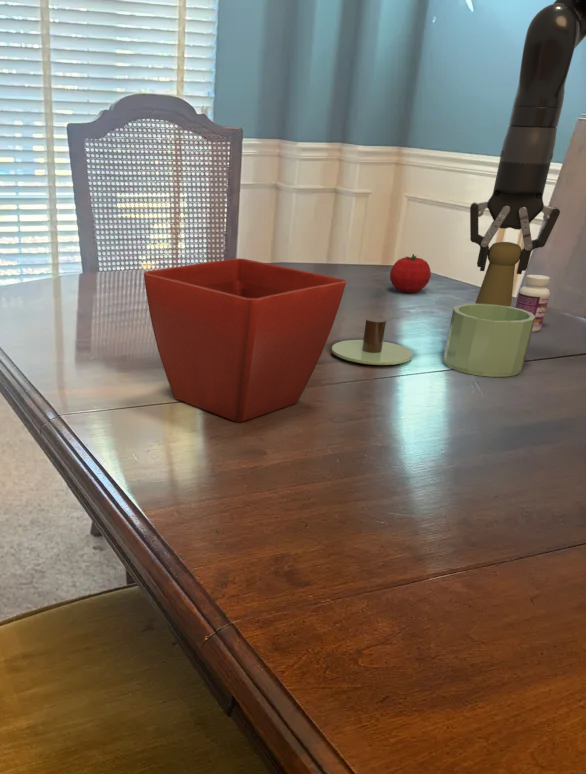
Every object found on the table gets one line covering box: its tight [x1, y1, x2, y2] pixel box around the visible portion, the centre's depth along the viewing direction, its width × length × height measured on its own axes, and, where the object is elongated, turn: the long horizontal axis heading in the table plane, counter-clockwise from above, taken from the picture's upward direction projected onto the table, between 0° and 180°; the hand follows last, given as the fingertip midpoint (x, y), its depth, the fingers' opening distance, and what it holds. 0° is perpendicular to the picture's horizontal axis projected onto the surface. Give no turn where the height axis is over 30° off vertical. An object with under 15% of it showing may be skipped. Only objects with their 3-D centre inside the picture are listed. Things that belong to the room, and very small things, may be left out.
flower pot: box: [143, 258, 347, 423], centre depth 102 cm, size 19×19×17 cm
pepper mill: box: [474, 241, 522, 307], centre depth 130 cm, size 6×6×11 cm
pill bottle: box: [514, 274, 551, 333], centre depth 144 cm, size 5×5×10 cm
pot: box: [443, 303, 535, 378], centre depth 122 cm, size 12×12×8 cm
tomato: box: [389, 253, 432, 294], centre depth 171 cm, size 9×9×8 cm
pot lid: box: [331, 316, 413, 366], centre depth 126 cm, size 13×13×6 cm
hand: (500, 271), depth 129 cm, fingers closed on pepper mill, 5 cm apart
